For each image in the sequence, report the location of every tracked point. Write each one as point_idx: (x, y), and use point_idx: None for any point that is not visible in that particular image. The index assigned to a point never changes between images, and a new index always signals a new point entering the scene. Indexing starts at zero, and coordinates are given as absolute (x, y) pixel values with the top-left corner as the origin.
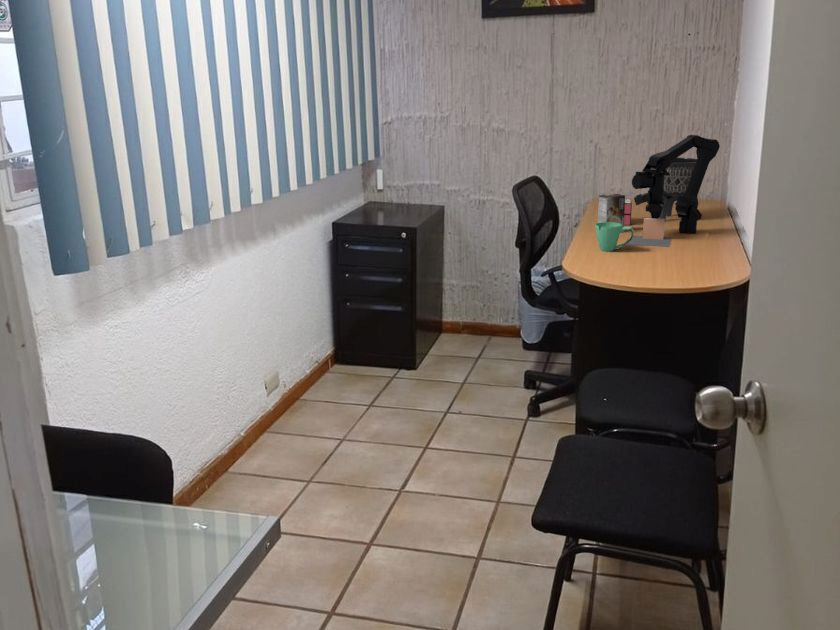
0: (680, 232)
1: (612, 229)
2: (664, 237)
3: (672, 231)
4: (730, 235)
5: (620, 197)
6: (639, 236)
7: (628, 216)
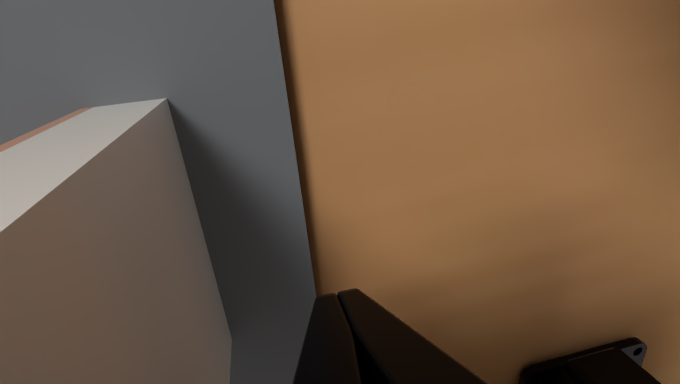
0: (555, 370)
1: None
2: (293, 330)
3: (642, 281)
4: None
5: None
6: (228, 23)
7: None
